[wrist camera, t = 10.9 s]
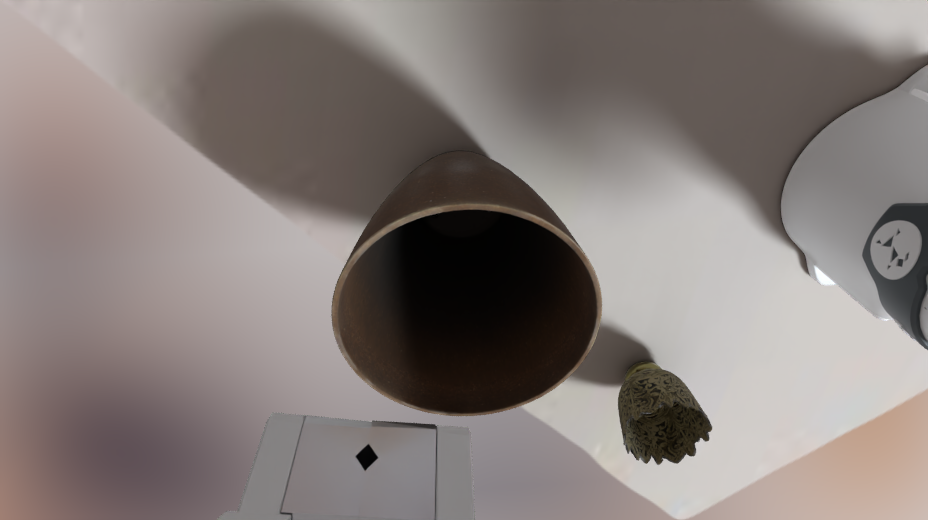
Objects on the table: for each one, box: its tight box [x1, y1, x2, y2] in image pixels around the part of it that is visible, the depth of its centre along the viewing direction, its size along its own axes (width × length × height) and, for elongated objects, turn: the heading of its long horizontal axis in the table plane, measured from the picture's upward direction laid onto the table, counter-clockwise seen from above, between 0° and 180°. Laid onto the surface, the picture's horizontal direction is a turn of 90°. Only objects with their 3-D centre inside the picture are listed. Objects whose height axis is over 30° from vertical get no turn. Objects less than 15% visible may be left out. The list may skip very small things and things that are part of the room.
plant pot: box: [332, 151, 602, 416], centre depth 39 cm, size 15×15×16 cm
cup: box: [618, 361, 712, 465], centre depth 54 cm, size 8×7×8 cm
